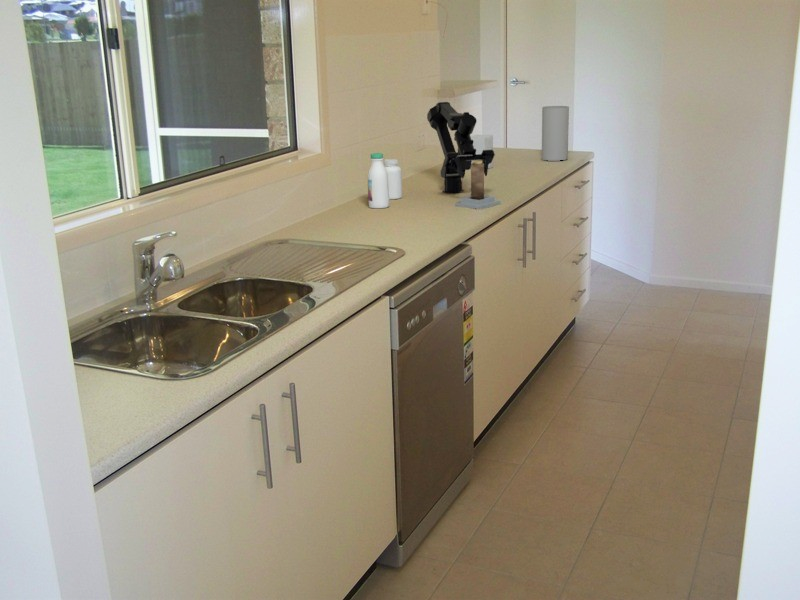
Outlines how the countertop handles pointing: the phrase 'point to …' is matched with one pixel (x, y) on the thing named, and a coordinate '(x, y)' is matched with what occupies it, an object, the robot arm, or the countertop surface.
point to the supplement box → (482, 144)
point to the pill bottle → (394, 178)
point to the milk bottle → (378, 183)
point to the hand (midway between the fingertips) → (474, 176)
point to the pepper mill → (477, 180)
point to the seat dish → (477, 202)
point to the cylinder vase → (555, 133)
